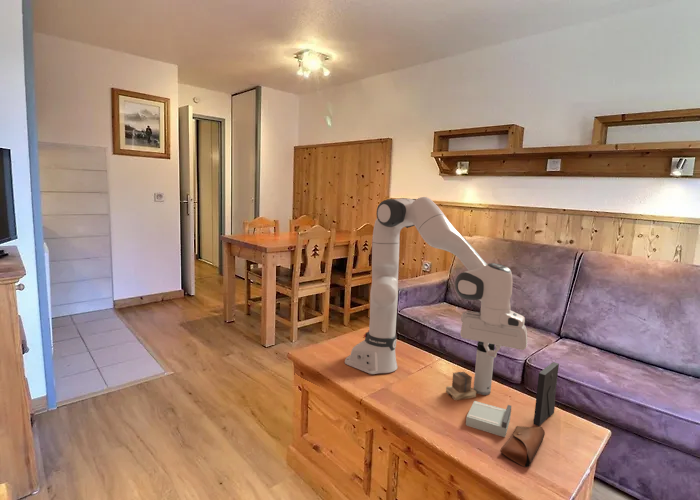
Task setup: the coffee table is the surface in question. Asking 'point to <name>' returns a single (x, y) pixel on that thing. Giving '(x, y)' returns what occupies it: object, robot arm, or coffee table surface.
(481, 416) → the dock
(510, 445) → the sunglasses case
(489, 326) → the robot arm
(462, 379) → the pallet
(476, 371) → the travel mug
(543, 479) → the coffee table surface
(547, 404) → the picture frame
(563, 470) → the coffee table surface
